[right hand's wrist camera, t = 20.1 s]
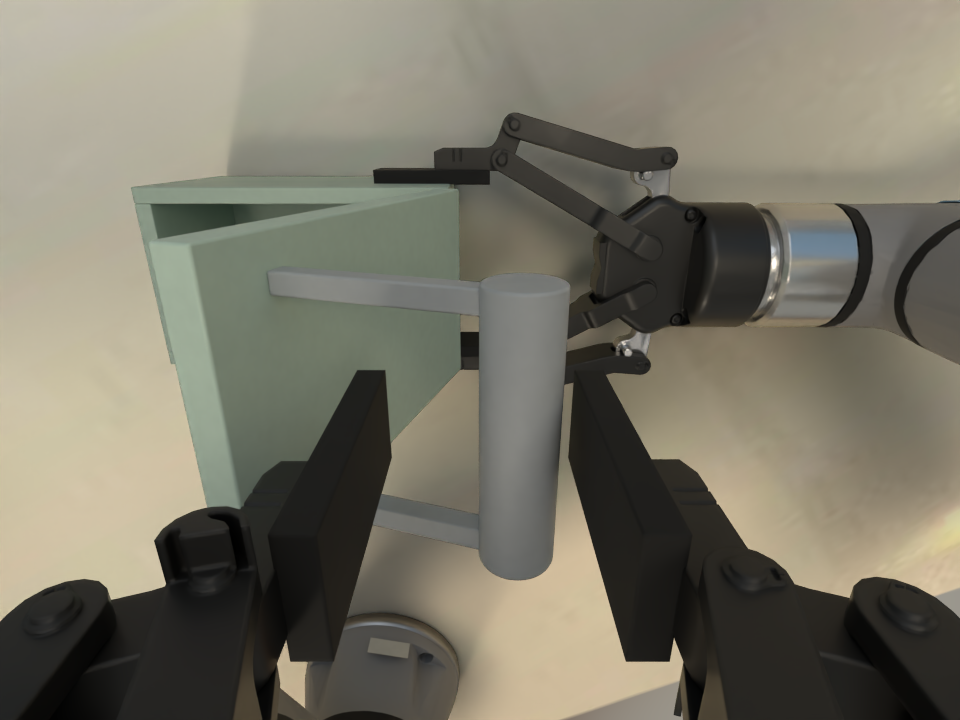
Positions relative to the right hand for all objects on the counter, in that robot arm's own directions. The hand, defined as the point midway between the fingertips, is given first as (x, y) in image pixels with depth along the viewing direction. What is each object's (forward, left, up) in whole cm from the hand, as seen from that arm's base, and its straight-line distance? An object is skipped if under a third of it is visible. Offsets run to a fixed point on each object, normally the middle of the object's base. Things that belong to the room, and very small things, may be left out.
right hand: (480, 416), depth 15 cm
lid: (-2, +5, -7) cm, 9 cm away
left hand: (-2, +6, -20) cm, 21 cm away
